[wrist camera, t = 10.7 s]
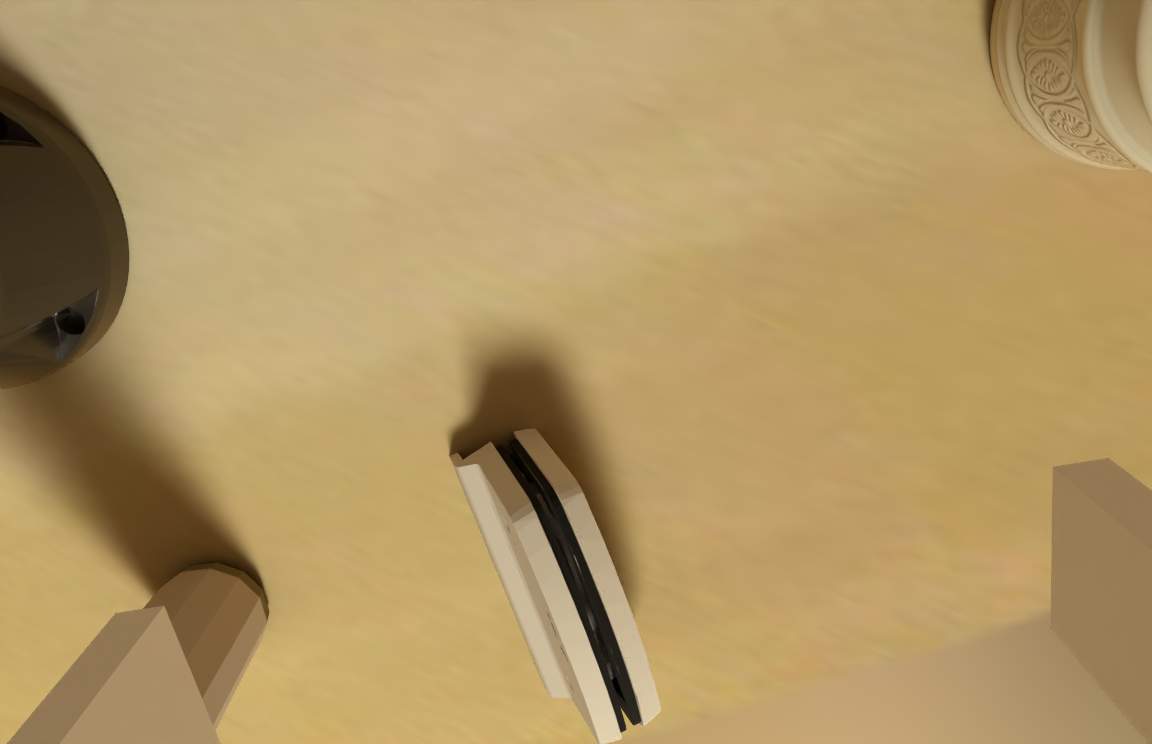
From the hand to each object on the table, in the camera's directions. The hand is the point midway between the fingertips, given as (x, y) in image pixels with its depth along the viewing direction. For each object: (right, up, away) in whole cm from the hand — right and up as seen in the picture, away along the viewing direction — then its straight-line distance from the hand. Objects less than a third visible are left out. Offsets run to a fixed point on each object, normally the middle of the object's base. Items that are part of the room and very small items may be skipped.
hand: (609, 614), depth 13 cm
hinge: (-1, -7, +37) cm, 37 cm away
